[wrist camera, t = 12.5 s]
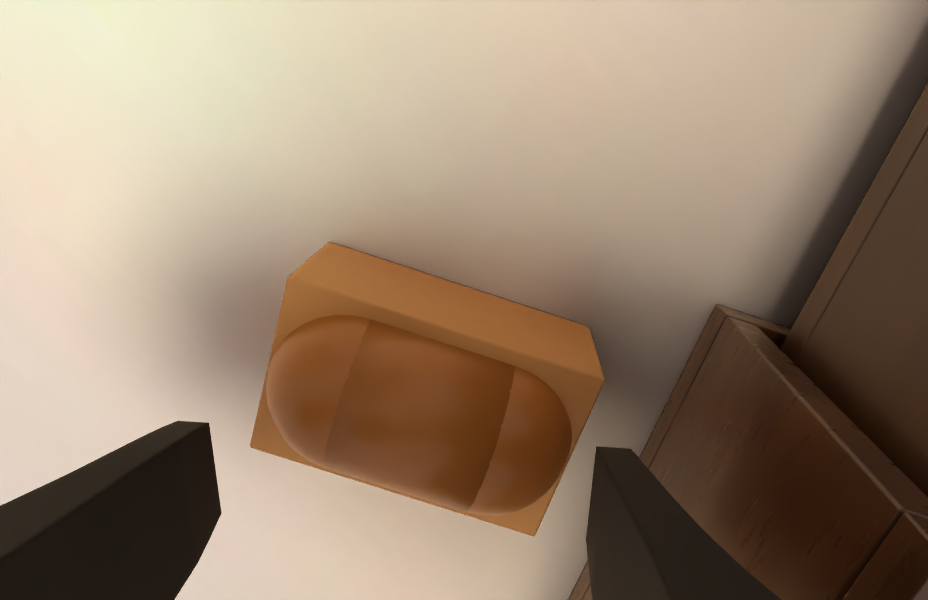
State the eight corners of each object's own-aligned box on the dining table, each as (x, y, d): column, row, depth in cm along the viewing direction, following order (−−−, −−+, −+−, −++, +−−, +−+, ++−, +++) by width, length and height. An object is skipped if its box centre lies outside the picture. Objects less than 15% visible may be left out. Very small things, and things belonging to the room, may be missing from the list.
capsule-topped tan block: (293, 387, 17) (219, 488, 13) (328, 241, 15) (258, 301, 11) (531, 462, 17) (536, 587, 13) (589, 326, 16) (616, 416, 11)
